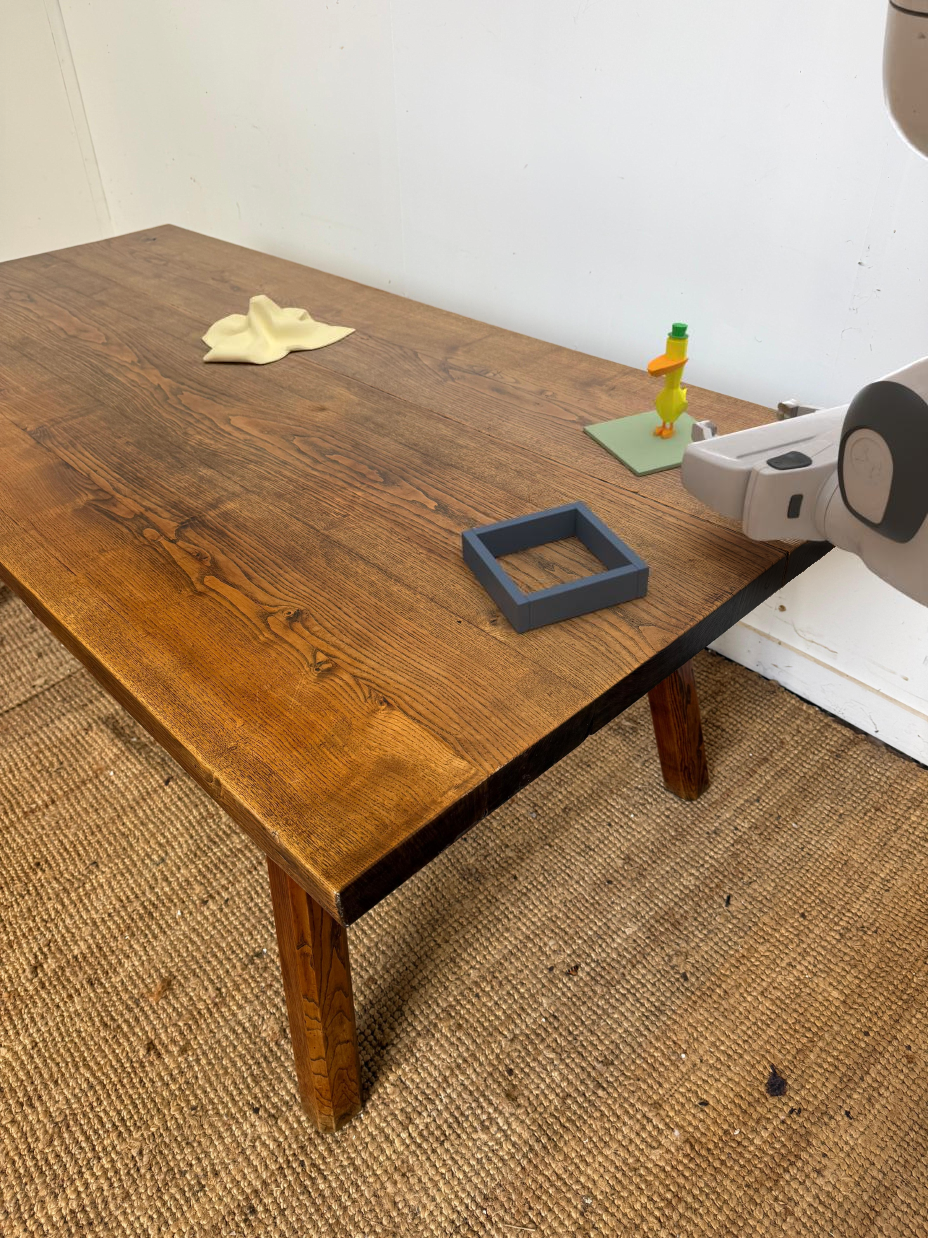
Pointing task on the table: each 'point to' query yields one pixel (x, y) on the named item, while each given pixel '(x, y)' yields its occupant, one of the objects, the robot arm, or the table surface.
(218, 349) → the cloth
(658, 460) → the felt mat
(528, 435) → the table surface
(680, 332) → the toy figure
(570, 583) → the open square frame
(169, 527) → the table surface
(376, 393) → the table surface
